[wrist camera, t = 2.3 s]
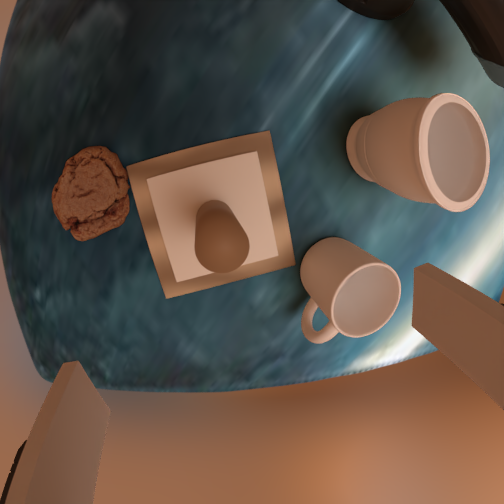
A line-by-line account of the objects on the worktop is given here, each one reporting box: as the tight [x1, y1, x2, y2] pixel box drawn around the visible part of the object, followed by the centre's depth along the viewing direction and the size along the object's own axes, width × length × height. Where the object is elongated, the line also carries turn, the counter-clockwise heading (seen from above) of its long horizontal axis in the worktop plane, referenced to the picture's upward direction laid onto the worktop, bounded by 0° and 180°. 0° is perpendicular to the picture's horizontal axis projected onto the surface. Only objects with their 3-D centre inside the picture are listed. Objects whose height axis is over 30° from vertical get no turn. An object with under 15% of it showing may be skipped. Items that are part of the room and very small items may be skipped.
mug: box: [300, 237, 401, 343], centre depth 33 cm, size 12×8×10 cm
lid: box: [147, 151, 278, 282], centre depth 27 cm, size 12×12×12 cm
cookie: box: [52, 146, 130, 241], centre depth 29 cm, size 10×11×3 cm
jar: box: [346, 93, 490, 212], centre depth 27 cm, size 11×10×15 cm
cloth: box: [126, 131, 296, 299], centre depth 33 cm, size 16×16×1 cm
